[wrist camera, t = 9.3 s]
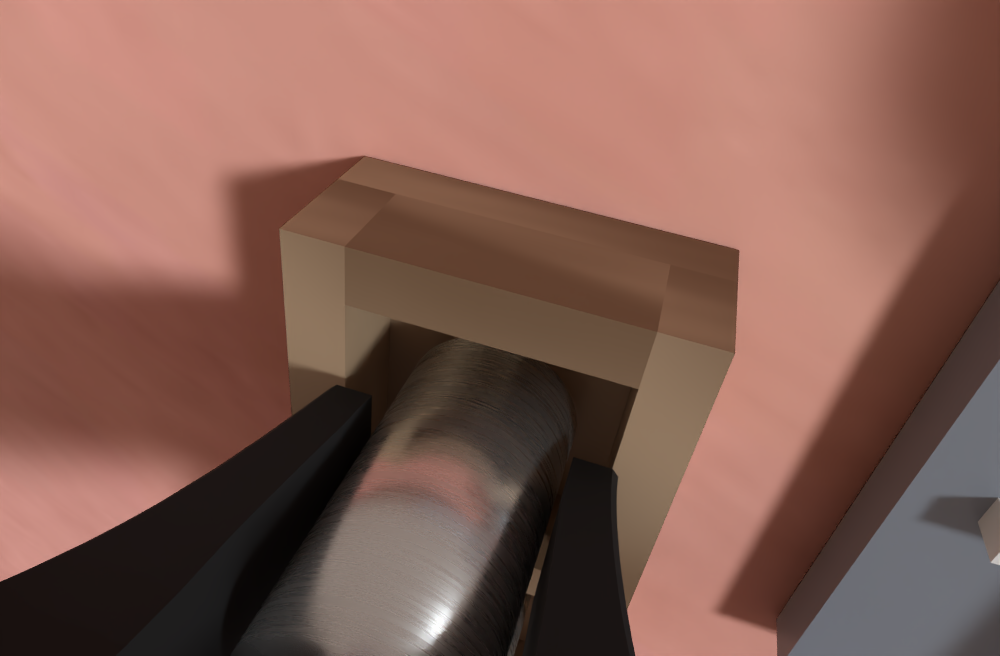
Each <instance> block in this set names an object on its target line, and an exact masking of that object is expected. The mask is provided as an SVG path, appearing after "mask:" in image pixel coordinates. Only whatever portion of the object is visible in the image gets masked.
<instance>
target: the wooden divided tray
mask: <svg viewBox="0 0 1000 656" xmlns="http://www.w3.org/2000/svg"><path fill="white" fill-rule="evenodd" d="M279 233H280V247H281V262H282V277H283V292H284V307H285V321H286V336H287V351H288V366H289V381H290V395H291V410H292V415H294V414H295V413H297V412H298V411H299V410H301V409H302V408H303V407H305V406H306V405H308V404H309V403H310V402H312V401H313V400H314V399H316V398H317V397H318V396H320V395H321V394H323V393H324V392H325V391H327V390H328V389H330V388H331V387H333V386H335V385H340V386H343V387H346V388H350V389H353V390H356V391H359V392H363V393H366V394H369V395H372V418H371V435H372V434H373V432H374V430H375V429H376V427H377V426H378V424H379V423H380V421H381V420H382V418H383V416H384V415H385V413H386V412H387V410H388V409H389V407H390V406H391V404H392V402H393V401H394V399H395V398H396V396H397V395H398V393H399V392H400V390H401V388H402V387H403V385H404V384H405V382H406V381H407V379H408V378H409V376H410V374H411V373H412V371H413V370H414V368H415V367H416V365H417V364H418V362H419V361H420V359H421V358H422V357H423V356H424V355H425V354H426V353H427V352H428V351H429V350H430V349H432V348H433V347H435V346H437V345H439V344H441V343H443V342H446V341H448V340H452V339H456V338H462V339H465V340H469V341H472V342H476V343H479V344H483V345H486V346H490V347H493V348H497V349H500V350H504V351H507V352H511V353H514V354H518V355H521V356H525V357H528V358H532V359H535V360H539V361H542V362H544V363H545V364H546V365H548V366H549V367H550V368H551V369H552V370H553V371H554V372H555V373H556V374H557V376H558V377H559V378H560V379H561V380H562V382H563V383H564V385H565V386H566V388H567V389H568V391H569V393H570V395H571V397H572V399H573V402H574V405H575V409H576V415H577V428H576V434H575V437H574V440H573V444H572V447H571V450H570V453H569V457H568V460H567V463H566V466H565V470H564V473H563V476H562V479H561V482H560V486H559V489H558V492H557V495H556V499H555V502H554V505H553V508H552V512H551V515H550V518H549V521H548V525H547V528H546V531H545V534H544V538H543V541H542V544H541V547H540V550H539V554H538V557H537V560H536V563H535V567H534V570H533V573H532V576H531V580H530V583H529V586H528V589H527V594H530V595H531V599H530V602H529V606H528V609H527V612H526V616H525V619H524V623H523V626H522V630H521V633H520V636H519V640H518V643H517V647H516V650H515V653H514V656H522V655H523V650H524V645H525V639H526V634H527V629H528V624H529V618H530V613H531V608H532V603H533V599H534V595H535V592H536V588H537V584H538V581H539V577H540V574H541V570H542V566H543V563H544V559H545V555H546V552H547V548H548V544H549V541H550V537H551V534H552V530H553V526H554V523H555V519H556V515H557V512H558V508H559V504H560V501H561V497H562V494H563V490H564V487H565V483H566V480H567V477H568V473H569V470H570V467H571V463H572V460H573V457H575V458H578V459H582V460H585V461H588V462H591V463H595V464H598V465H601V466H605V467H608V468H611V469H613V470H614V471H615V473H616V474H617V476H618V483H617V529H618V542H619V555H620V564H621V572H622V579H623V586H624V593H625V600H626V607H627V608H628V606H629V603H630V601H631V599H632V596H633V594H634V592H635V589H636V587H637V584H638V582H639V580H640V577H641V575H642V573H643V570H644V568H645V565H646V563H647V561H648V558H649V556H650V554H651V551H652V549H653V546H654V544H655V542H656V539H657V537H658V535H659V532H660V530H661V528H662V525H663V523H664V520H665V518H666V516H667V513H668V511H669V509H670V506H671V504H672V501H673V499H674V497H675V494H676V492H677V490H678V487H679V485H680V482H681V480H682V478H683V475H684V473H685V471H686V468H687V466H688V463H689V461H690V459H691V456H692V454H693V452H694V449H695V447H696V444H697V442H698V440H699V437H700V435H701V433H702V430H703V428H704V425H705V423H706V421H707V418H708V416H709V414H710V411H711V409H712V406H713V404H714V402H715V399H716V397H717V395H718V392H719V390H720V388H721V385H722V383H723V380H724V378H725V376H726V373H727V371H728V369H729V366H730V364H731V361H732V359H733V357H734V354H735V340H736V315H737V291H738V267H739V250H736V249H732V248H728V247H724V246H720V245H716V244H712V243H708V242H704V241H700V240H696V239H692V238H688V237H684V236H680V235H677V234H673V233H669V232H665V231H661V230H657V229H653V228H649V227H645V226H641V225H637V224H633V223H629V222H625V221H621V220H617V219H613V218H609V217H605V216H601V215H597V214H593V213H589V212H585V211H581V210H577V209H573V208H569V207H565V206H561V205H557V204H553V203H549V202H545V201H541V200H537V199H533V198H529V197H525V196H521V195H517V194H513V193H509V192H505V191H501V190H497V189H493V188H489V187H485V186H482V185H478V184H474V183H470V182H466V181H462V180H458V179H454V178H450V177H446V176H442V175H438V174H434V173H430V172H426V171H422V170H418V169H414V168H410V167H406V166H402V165H398V164H394V163H390V162H386V161H382V160H378V159H374V158H370V157H366V156H364V157H363V158H362V159H361V160H360V161H359V162H357V163H356V164H355V165H354V166H353V167H351V168H350V169H349V170H348V171H347V172H346V173H344V174H343V175H342V176H341V177H340V178H338V179H337V180H336V181H335V182H334V183H333V184H331V185H330V186H329V187H328V188H327V189H325V190H324V191H323V192H322V193H321V194H320V195H318V196H317V197H316V198H315V199H314V200H312V201H311V202H310V203H309V204H308V205H307V206H305V207H304V208H303V209H302V210H301V211H300V212H298V213H297V214H296V215H295V216H294V217H292V218H291V219H290V220H289V221H288V222H287V223H285V224H284V225H283V226H282V227H281V228H279Z"/></svg>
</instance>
